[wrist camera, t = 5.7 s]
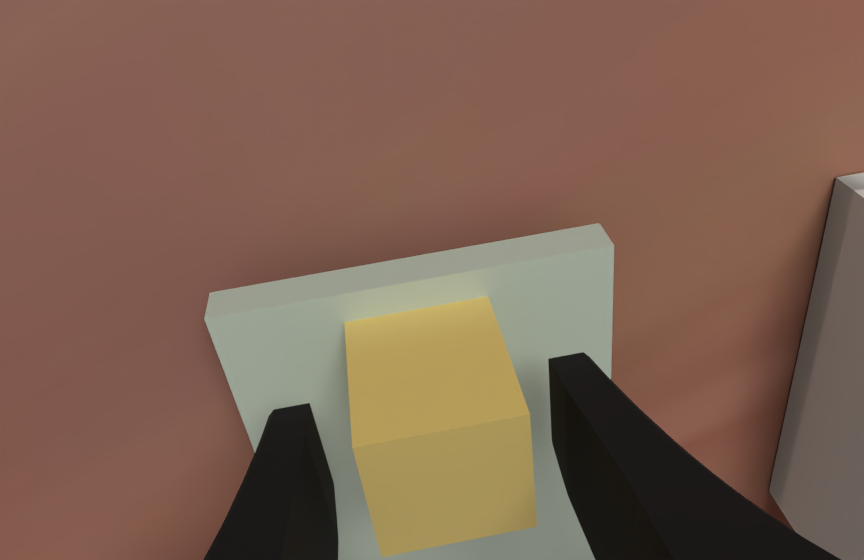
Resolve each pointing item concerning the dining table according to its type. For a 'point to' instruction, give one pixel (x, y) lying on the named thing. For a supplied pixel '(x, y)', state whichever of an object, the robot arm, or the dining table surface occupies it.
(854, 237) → the tub
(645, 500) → the robot arm
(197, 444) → the dining table surface
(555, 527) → the lid
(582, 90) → the dining table surface
